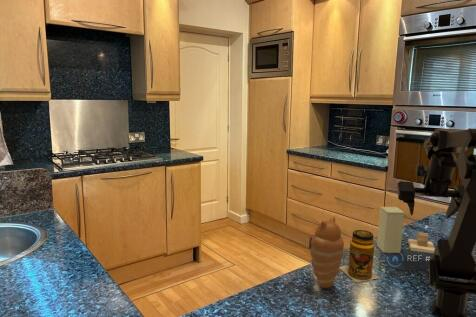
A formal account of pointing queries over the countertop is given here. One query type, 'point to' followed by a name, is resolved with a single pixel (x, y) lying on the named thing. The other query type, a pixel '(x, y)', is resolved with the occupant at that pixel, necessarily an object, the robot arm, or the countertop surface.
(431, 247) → the square plate with knob
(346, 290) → the countertop surface
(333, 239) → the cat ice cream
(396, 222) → the tan rectangular pillar
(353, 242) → the condiment
